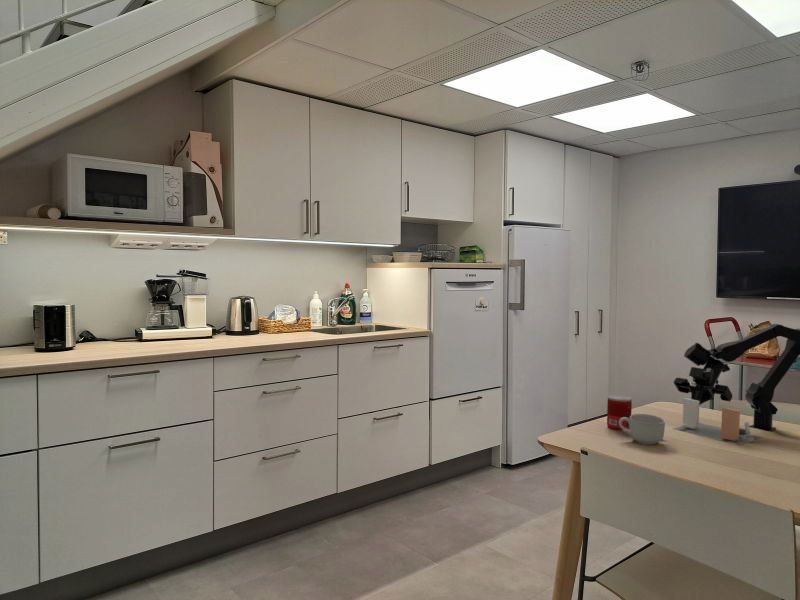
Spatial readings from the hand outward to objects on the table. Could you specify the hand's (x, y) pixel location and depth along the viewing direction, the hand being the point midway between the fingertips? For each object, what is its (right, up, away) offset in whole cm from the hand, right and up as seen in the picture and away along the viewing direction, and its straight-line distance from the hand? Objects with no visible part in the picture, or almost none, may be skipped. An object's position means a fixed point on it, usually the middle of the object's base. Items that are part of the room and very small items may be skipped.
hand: (692, 407), depth 199 cm
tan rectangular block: (+5, -8, -14) cm, 17 cm away
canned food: (-25, -8, +3) cm, 26 cm away
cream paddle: (-1, -7, 0) cm, 7 cm away
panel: (+5, -9, -6) cm, 12 cm away
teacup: (-24, -9, -13) cm, 28 cm away
